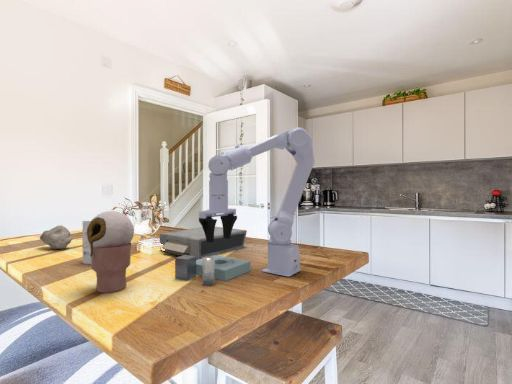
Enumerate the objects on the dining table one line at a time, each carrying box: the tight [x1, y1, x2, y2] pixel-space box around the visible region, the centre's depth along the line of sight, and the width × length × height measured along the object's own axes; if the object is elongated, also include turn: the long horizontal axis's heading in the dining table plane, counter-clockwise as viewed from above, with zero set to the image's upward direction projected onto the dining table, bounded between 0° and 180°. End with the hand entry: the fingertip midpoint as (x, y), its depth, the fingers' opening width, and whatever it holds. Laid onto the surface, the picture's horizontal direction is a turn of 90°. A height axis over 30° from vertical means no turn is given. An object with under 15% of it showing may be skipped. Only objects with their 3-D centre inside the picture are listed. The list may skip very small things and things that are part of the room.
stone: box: [39, 224, 73, 250], centre depth 124 cm, size 9×14×10 cm, turn 59°
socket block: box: [196, 255, 252, 282], centre depth 90 cm, size 15×12×3 cm
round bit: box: [201, 256, 216, 287], centre depth 79 cm, size 3×3×7 cm
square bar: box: [174, 255, 197, 282], centre depth 84 cm, size 4×4×6 cm
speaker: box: [159, 226, 248, 260], centre depth 121 cm, size 24×8×30 cm
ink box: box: [81, 220, 91, 265], centre depth 101 cm, size 8×5×15 cm, turn 72°
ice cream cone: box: [86, 210, 135, 294], centre depth 75 cm, size 11×11×20 cm
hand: (218, 240), depth 89 cm, fingers open, 7 cm apart
